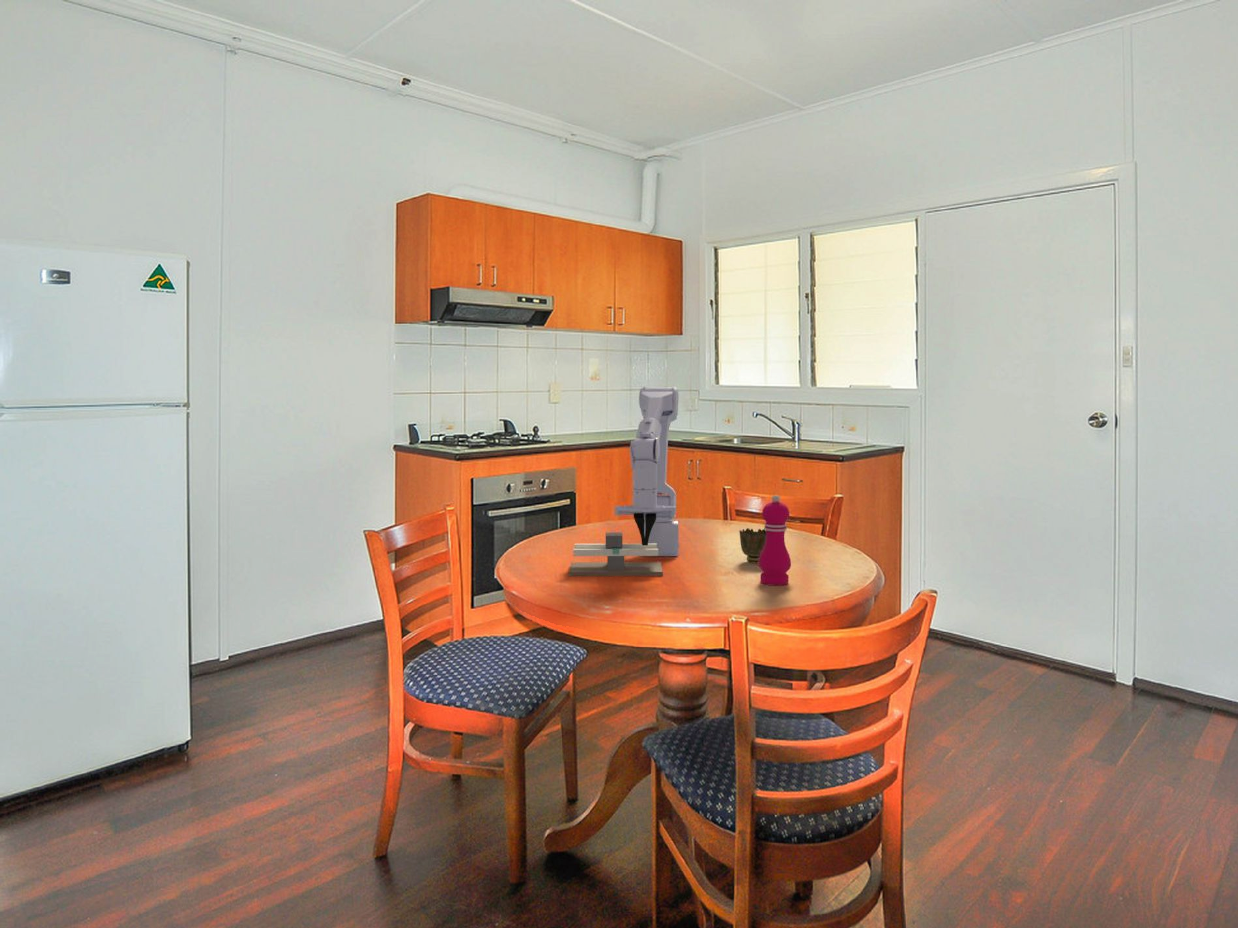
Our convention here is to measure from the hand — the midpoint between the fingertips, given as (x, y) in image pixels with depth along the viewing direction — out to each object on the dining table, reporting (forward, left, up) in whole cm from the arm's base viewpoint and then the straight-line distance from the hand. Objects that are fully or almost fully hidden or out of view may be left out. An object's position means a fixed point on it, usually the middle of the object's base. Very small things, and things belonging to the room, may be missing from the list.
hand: (644, 544), depth 188 cm
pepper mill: (-29, +11, -7) cm, 32 cm away
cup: (-28, -9, -7) cm, 30 cm away
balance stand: (+7, 0, -6) cm, 9 cm away
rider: (+7, 0, -1) cm, 8 cm away
